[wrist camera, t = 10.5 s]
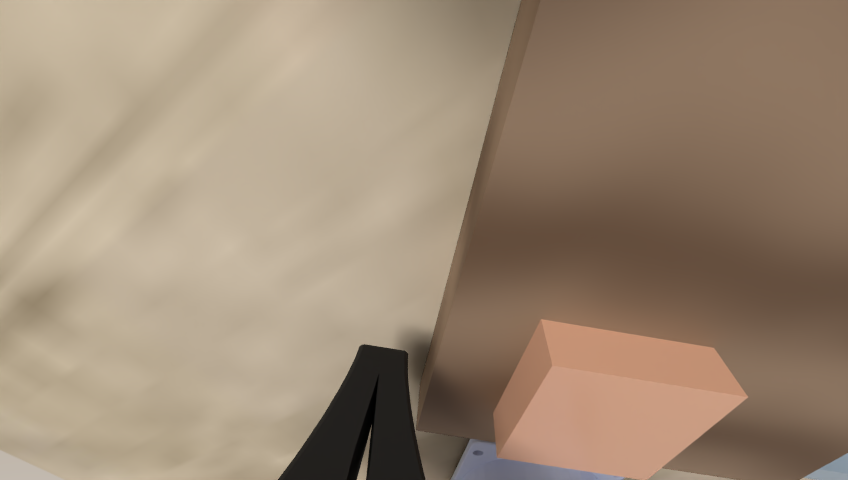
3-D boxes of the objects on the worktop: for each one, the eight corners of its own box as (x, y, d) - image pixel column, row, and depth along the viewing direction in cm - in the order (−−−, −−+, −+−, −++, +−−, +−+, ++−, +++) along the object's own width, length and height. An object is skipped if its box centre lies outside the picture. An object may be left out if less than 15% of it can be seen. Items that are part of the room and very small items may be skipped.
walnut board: (753, 436, 16) (786, 487, 15) (420, 383, 16) (415, 430, 14) (1529, -117, 6) (1943, -152, 4) (606, -325, 5) (673, -459, 4)
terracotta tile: (628, 434, 13) (645, 480, 12) (493, 413, 13) (496, 457, 12) (713, 347, 10) (748, 397, 9) (541, 319, 10) (552, 365, 9)
